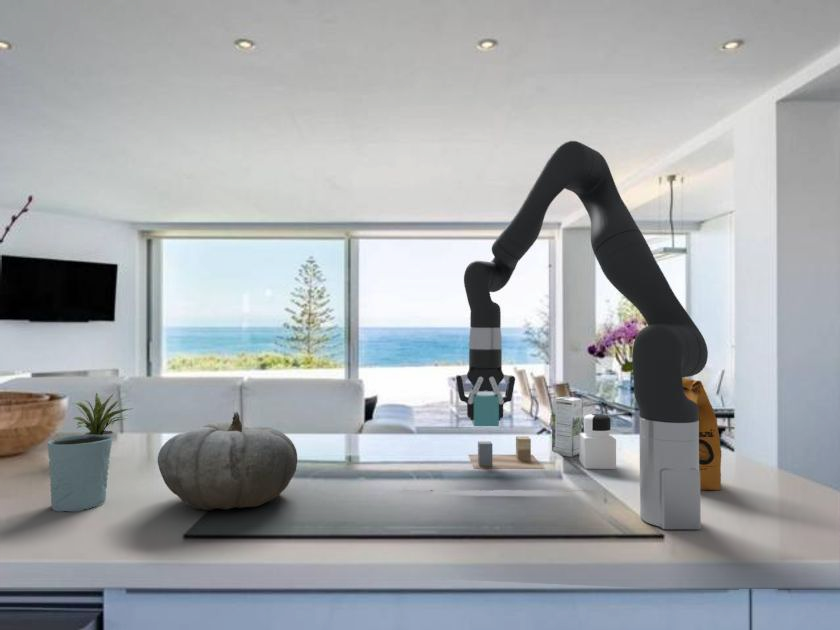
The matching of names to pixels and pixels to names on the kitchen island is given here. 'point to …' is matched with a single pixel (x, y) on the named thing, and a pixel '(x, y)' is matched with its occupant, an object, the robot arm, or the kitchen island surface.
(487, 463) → the post slate
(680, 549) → the kitchen island surface
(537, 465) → the board
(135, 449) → the kitchen island surface
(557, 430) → the syrup box
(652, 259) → the robot arm
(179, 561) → the kitchen island surface
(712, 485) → the coffee package
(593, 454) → the medicine bottle
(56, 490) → the blue planter pot
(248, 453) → the gourd
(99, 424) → the house plant
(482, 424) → the teal foam cube
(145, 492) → the kitchen island surface
